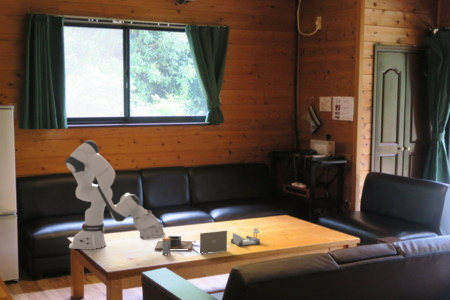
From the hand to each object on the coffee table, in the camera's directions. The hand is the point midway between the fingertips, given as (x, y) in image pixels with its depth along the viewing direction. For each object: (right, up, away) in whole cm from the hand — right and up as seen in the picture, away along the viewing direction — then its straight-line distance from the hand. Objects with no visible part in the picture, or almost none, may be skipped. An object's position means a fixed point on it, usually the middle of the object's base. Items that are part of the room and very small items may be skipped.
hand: (154, 233), depth 365 cm
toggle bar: (+7, -12, -1) cm, 14 cm away
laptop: (+32, -12, +10) cm, 36 cm away
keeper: (+10, -11, +16) cm, 22 cm away
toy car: (+56, -11, +27) cm, 64 cm away
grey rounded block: (-7, -8, +45) cm, 46 cm away
